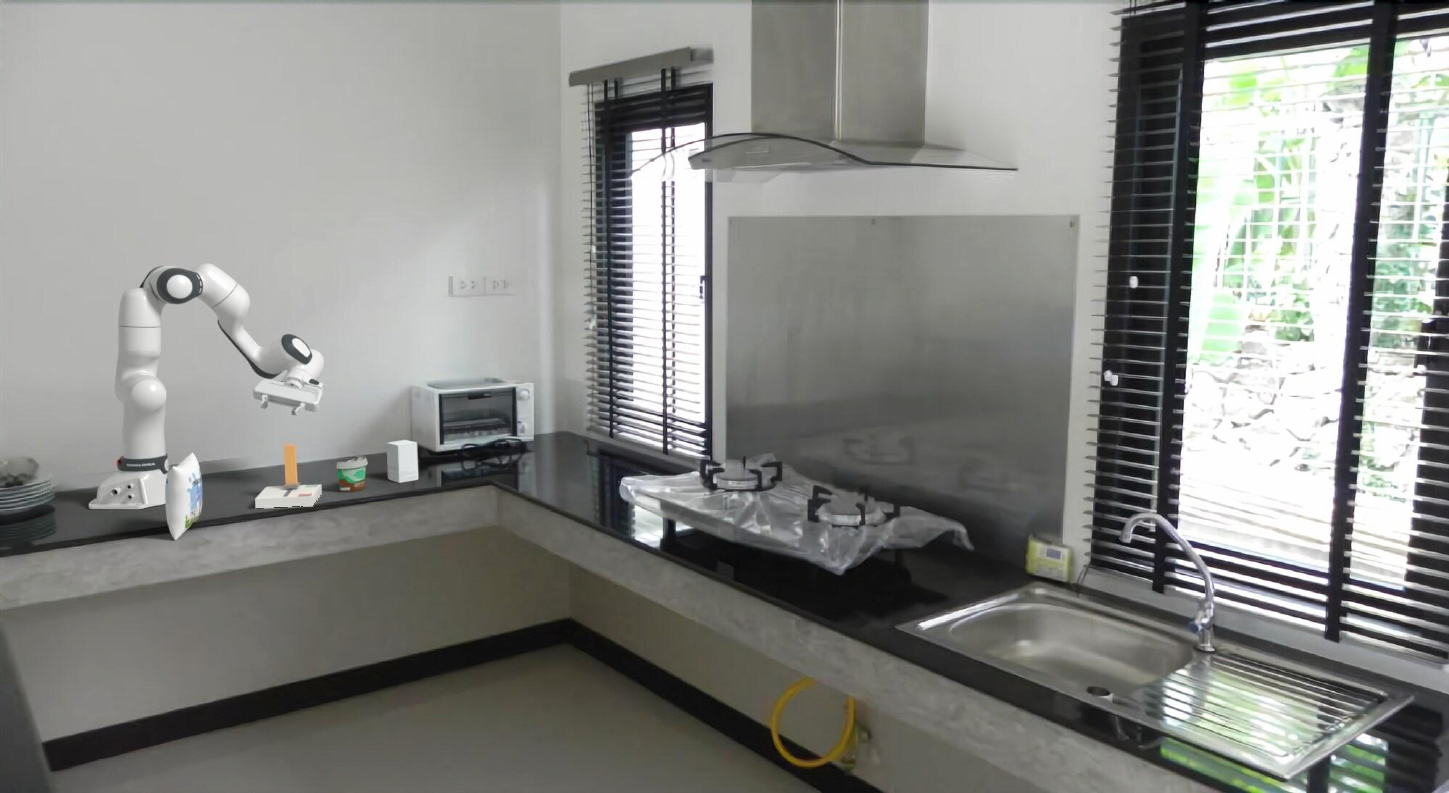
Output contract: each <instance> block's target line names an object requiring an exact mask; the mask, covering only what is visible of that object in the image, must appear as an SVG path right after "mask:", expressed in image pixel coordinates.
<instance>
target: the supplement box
mask: <svg viewBox="0 0 1449 793" xmlns="http://www.w3.org/2000/svg"><path fill="white" fill-rule="evenodd" d="M418 459H419V458H418V442H417V441H412V440H408V439H401V440H396V441H390V442H386V460H387V464H386V465H387V480H388V479H389V480H388V481H392V482H395V483H406V482H412V481H418V480H419V462H418V461H419V460H418Z"/></svg>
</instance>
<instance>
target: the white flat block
mask: <svg viewBox="0 0 1449 793" xmlns="http://www.w3.org/2000/svg"><path fill="white" fill-rule="evenodd" d="M322 490H323V489H322V483H321V484H319V483H318V484H300V486H299V487H298V488H296V489H283V485H274V486H272V485H271V486H270V485H269V486H266V487H264V489H263V490H262V491H261V492H260V493H259V494H258V495H257V496H256V497H255V498H254V504H255V509H256V508H264V509H275V508H274V507H288V508H293V507H292V506H300V507H299V508H305V507H306V508H307V507H308V508H309V507H314V506H315V505H314V503H315V502H316V500H317V501H318V500H319V499H320V497H321V496H322V495H323V491H322ZM320 495H321V496H320ZM318 498H319V499H318ZM316 503H317V502H316ZM316 503H315V504H316ZM313 505H314V506H313ZM301 506H303V507H301Z"/></svg>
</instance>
